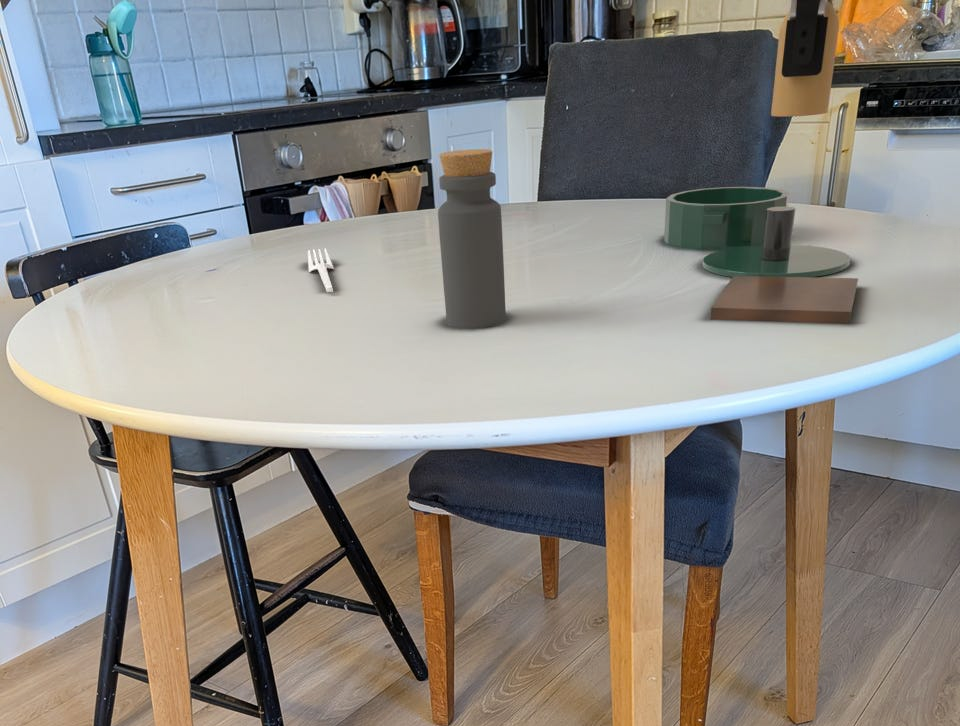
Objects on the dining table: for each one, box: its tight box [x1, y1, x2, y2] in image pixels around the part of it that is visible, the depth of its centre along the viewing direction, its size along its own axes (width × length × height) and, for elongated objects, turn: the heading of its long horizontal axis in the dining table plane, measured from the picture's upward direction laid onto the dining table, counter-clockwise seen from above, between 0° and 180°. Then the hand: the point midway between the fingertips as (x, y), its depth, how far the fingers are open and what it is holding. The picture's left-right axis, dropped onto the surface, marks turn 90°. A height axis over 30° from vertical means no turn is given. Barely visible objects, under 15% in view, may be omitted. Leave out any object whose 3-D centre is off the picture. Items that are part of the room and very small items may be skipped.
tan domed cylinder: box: [770, 1, 840, 118], centre depth 75 cm, size 5×5×8 cm
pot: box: [663, 186, 790, 251], centre depth 110 cm, size 15×20×6 cm
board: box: [709, 276, 859, 325], centre depth 83 cm, size 12×13×2 cm
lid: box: [702, 206, 851, 278], centre depth 96 cm, size 16×16×6 cm
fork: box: [307, 248, 335, 293], centre depth 108 cm, size 3×20×2 cm, turn 13°
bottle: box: [437, 148, 507, 330], centre depth 82 cm, size 6×6×15 cm
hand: (804, 71), depth 76 cm, fingers closed on tan domed cylinder, 4 cm apart
